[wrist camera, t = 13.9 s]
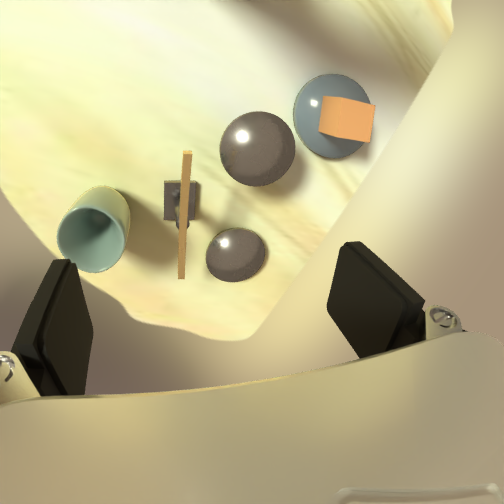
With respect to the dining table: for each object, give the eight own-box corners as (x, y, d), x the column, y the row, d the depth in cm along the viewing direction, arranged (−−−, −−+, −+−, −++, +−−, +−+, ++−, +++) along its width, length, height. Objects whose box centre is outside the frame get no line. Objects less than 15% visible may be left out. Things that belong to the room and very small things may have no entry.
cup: (145, 205, 39) (140, 238, 31) (109, 245, 40) (98, 285, 32) (102, 167, 35) (83, 189, 27) (67, 210, 36) (44, 244, 28)
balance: (168, 104, 34) (168, 107, 24) (280, 112, 38) (319, 120, 28) (165, 279, 45) (168, 330, 35) (258, 275, 49) (282, 322, 39)
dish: (298, 66, 35) (302, 65, 34) (372, 85, 38) (377, 85, 37) (287, 151, 41) (290, 153, 40) (360, 160, 44) (364, 162, 43)
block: (322, 95, 37) (342, 97, 32) (354, 102, 38) (375, 105, 34) (318, 131, 39) (336, 137, 35) (349, 136, 40) (369, 142, 36)
